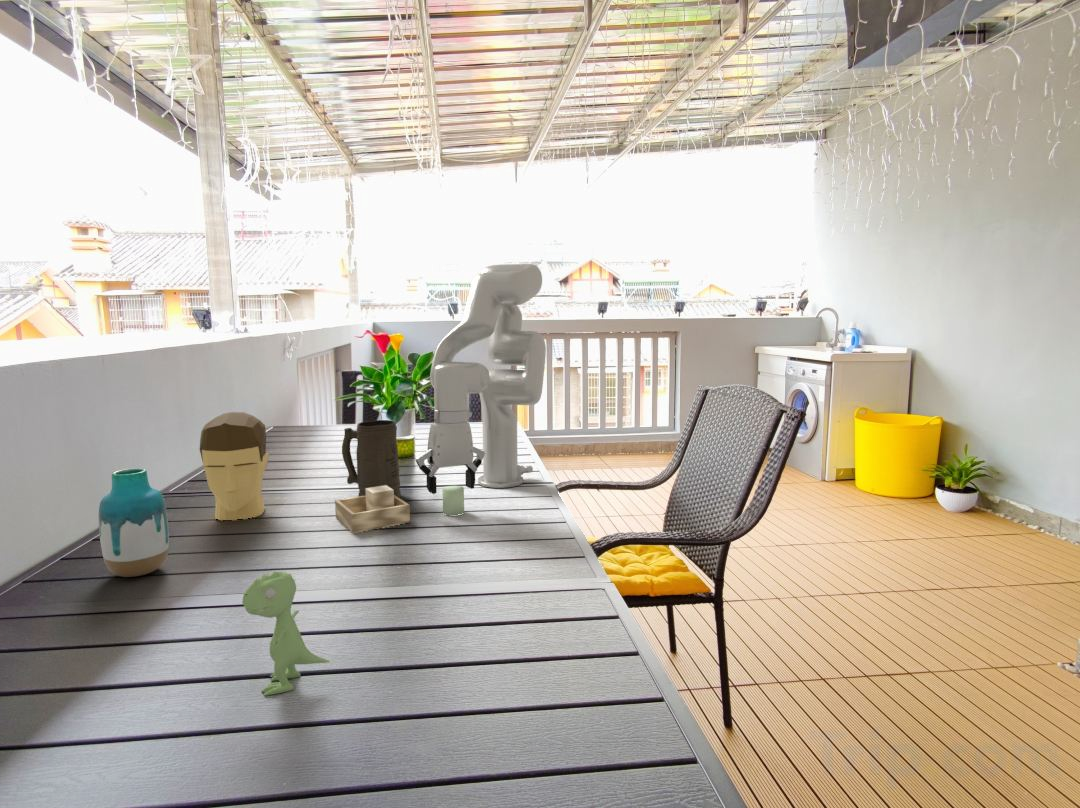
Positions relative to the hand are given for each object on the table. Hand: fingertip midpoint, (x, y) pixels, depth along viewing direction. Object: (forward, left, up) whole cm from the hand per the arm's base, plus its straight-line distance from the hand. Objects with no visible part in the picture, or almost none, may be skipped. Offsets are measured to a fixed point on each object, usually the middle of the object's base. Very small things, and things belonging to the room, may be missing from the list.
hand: (451, 489), depth 154 cm
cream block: (+15, -8, -5) cm, 17 cm away
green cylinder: (-1, -1, -6) cm, 6 cm away
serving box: (+17, -6, -6) cm, 19 cm away
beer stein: (+11, -25, -6) cm, 28 cm away
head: (+42, -27, -6) cm, 50 cm away
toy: (+48, +53, -6) cm, 72 cm away
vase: (+63, 0, -6) cm, 64 cm away
